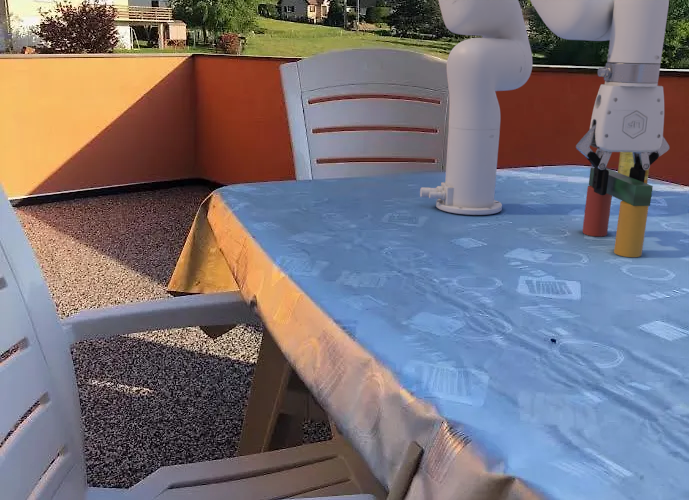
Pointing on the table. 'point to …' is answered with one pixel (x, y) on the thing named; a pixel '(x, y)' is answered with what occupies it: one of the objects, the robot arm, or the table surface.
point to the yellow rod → (630, 230)
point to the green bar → (626, 188)
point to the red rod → (596, 213)
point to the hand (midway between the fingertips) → (616, 192)
